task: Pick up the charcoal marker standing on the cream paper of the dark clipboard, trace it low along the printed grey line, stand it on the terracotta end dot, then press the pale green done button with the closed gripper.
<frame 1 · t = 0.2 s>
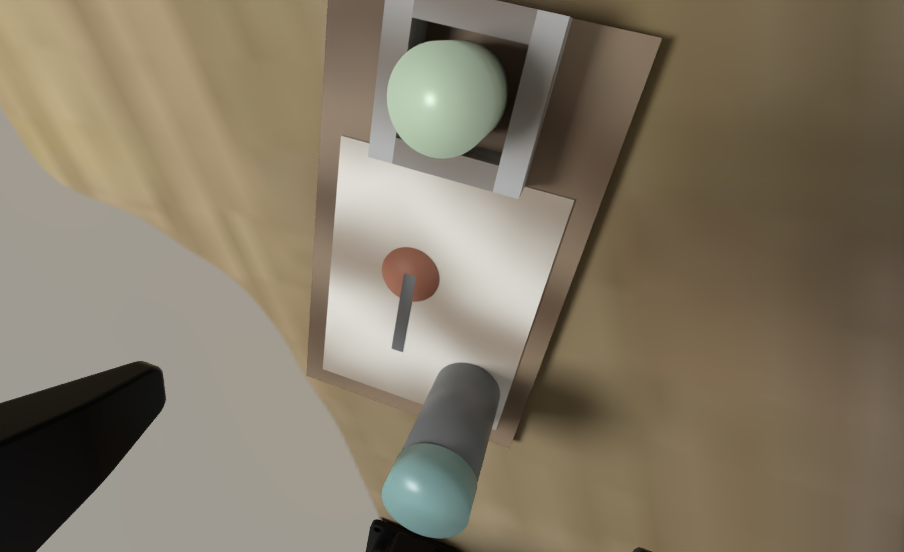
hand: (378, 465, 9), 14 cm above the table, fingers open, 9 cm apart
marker: (467, 389, 24), point 1 cm above the table, touching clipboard
done button: (451, 97, 16), point 3 cm above the table, slide at 0.0 cm
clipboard: (440, 246, 22), on the table
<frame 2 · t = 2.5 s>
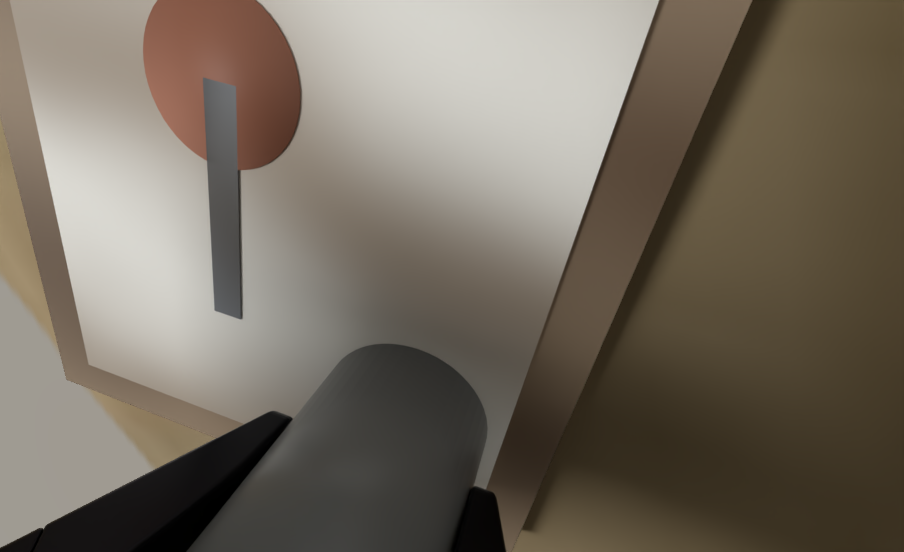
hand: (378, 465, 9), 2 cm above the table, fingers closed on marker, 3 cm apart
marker: (404, 415, 10), point 1 cm above the table, touching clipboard, gripper
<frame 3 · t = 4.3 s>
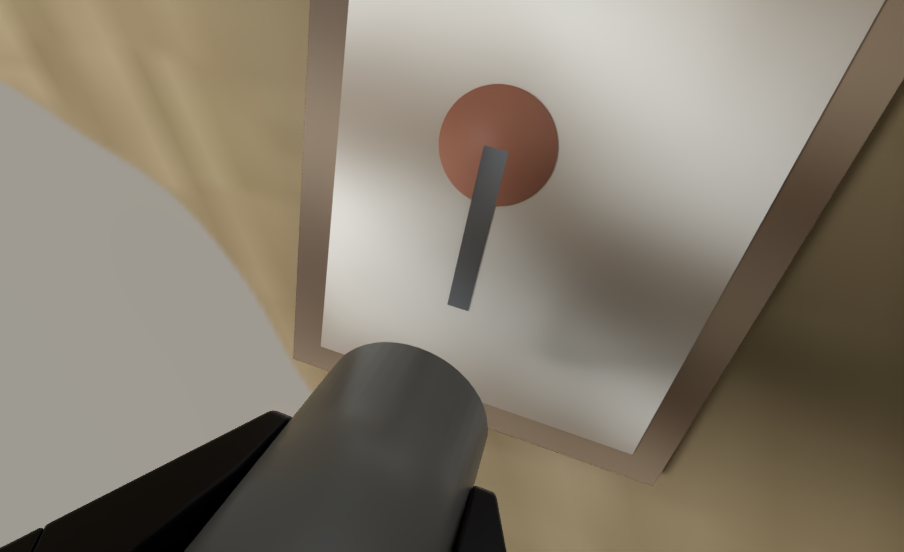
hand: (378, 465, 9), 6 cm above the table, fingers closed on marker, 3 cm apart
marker: (404, 414, 10), point 5 cm above the table, touching gripper
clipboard: (559, 88, 11), on the table
when the fingers open (2 cm above the table, at t = 6.1 s): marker stays where it is, resting on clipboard.
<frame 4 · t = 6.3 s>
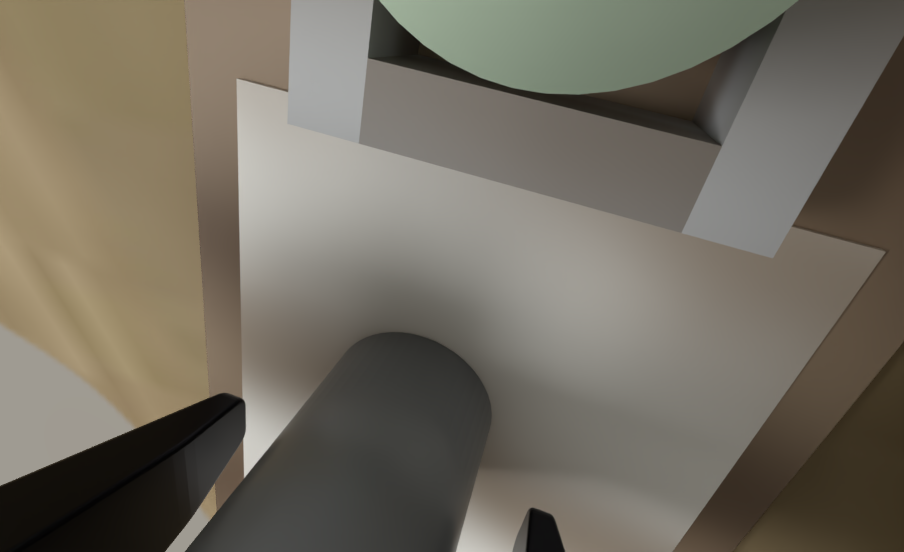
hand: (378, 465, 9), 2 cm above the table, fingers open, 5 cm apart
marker: (410, 402, 10), point 1 cm above the table, touching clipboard
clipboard: (479, 341, 10), on the table
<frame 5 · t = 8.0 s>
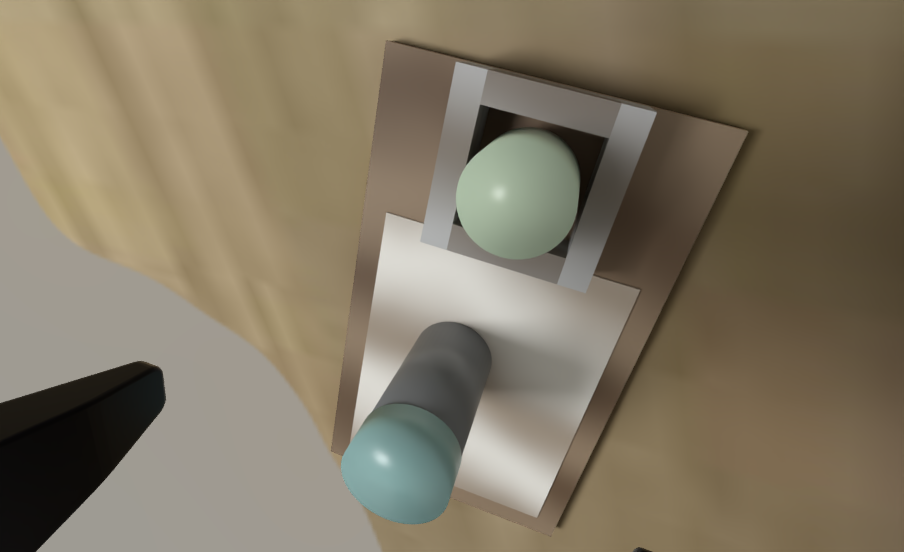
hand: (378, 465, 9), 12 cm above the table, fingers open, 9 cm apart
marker: (453, 356, 21), point 1 cm above the table, touching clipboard
done button: (521, 190, 15), point 3 cm above the table, slide at 0.0 cm
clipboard: (486, 327, 21), on the table
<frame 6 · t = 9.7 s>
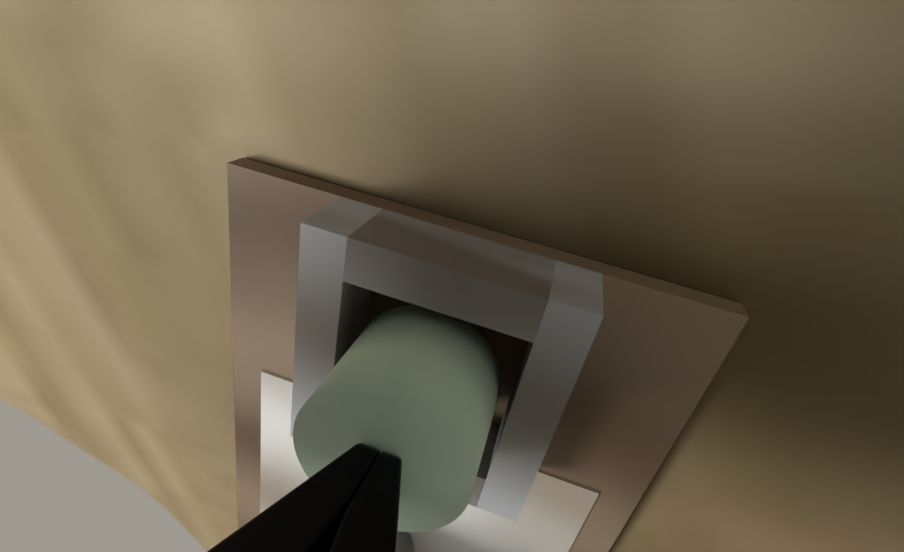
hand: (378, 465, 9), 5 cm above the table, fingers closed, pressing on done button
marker: (366, 535, 16), point 1 cm above the table, touching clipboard
done button: (406, 411, 10), point 3 cm above the table, slide at 0.0 cm, touching gripper
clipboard: (407, 499, 16), on the table
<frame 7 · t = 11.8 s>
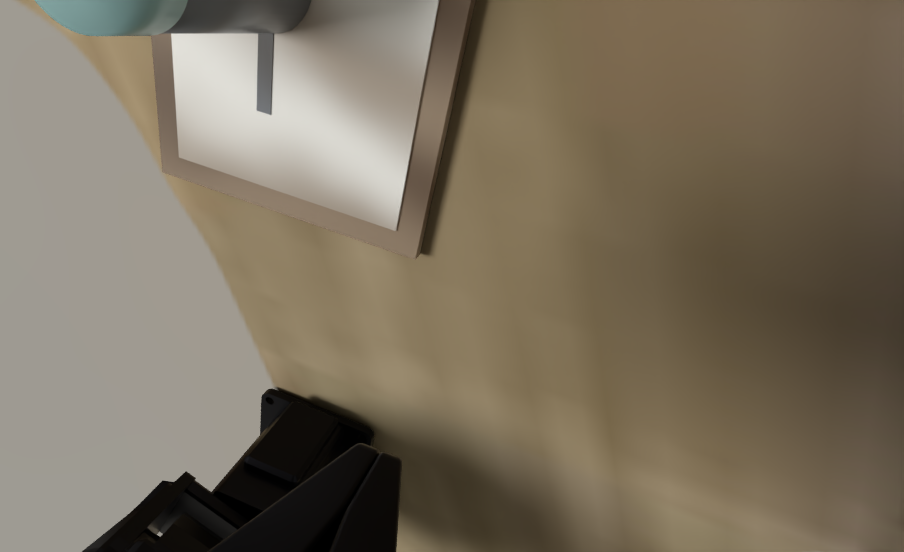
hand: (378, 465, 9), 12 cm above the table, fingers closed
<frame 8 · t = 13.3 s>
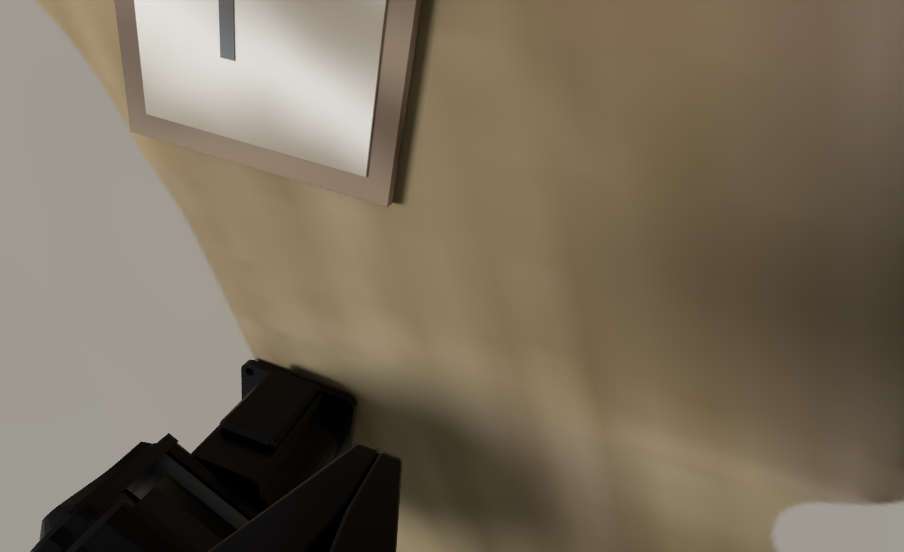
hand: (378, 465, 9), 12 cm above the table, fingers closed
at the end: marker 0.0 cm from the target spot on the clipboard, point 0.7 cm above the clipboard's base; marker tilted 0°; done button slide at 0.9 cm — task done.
